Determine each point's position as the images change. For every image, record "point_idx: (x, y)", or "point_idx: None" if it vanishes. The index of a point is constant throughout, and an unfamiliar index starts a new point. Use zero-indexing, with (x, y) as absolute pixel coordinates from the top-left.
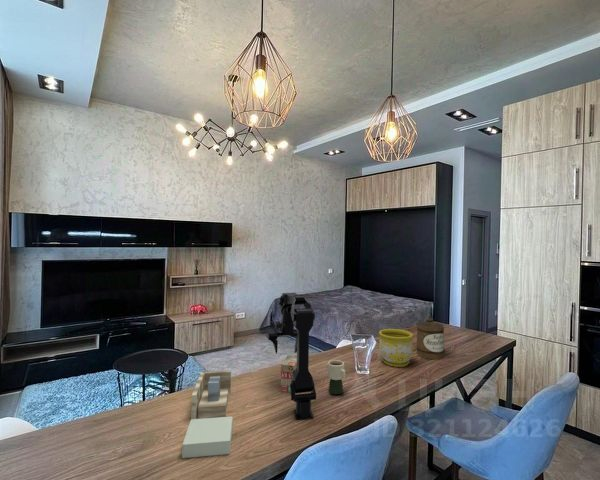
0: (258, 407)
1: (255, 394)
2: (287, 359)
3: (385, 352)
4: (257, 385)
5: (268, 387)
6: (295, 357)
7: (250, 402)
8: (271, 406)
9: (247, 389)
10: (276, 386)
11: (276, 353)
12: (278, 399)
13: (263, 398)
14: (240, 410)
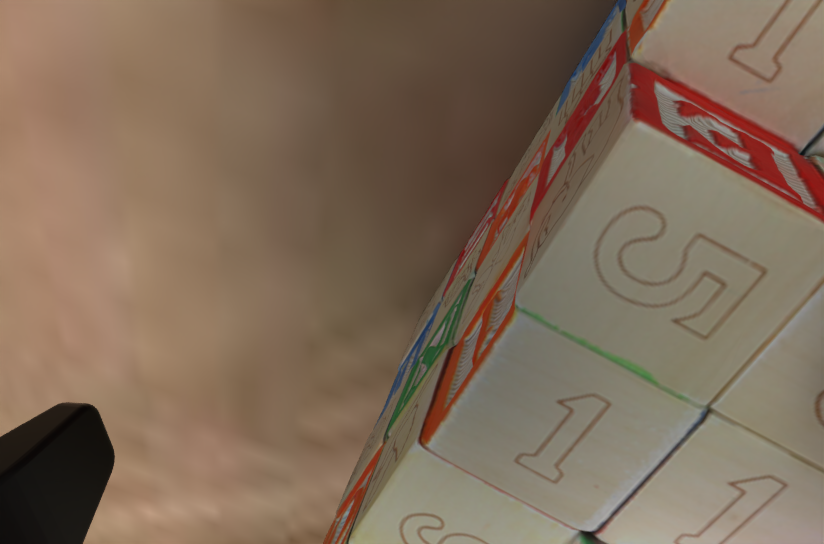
0: (172, 513)
1: (126, 290)
2: (488, 486)
3: None
4: (128, 54)
5: (275, 163)
6: (798, 447)
7: None
8: (281, 540)
9: (20, 138)
10: (387, 166)
11: (99, 473)
12: None
13: (212, 395)
14: None
